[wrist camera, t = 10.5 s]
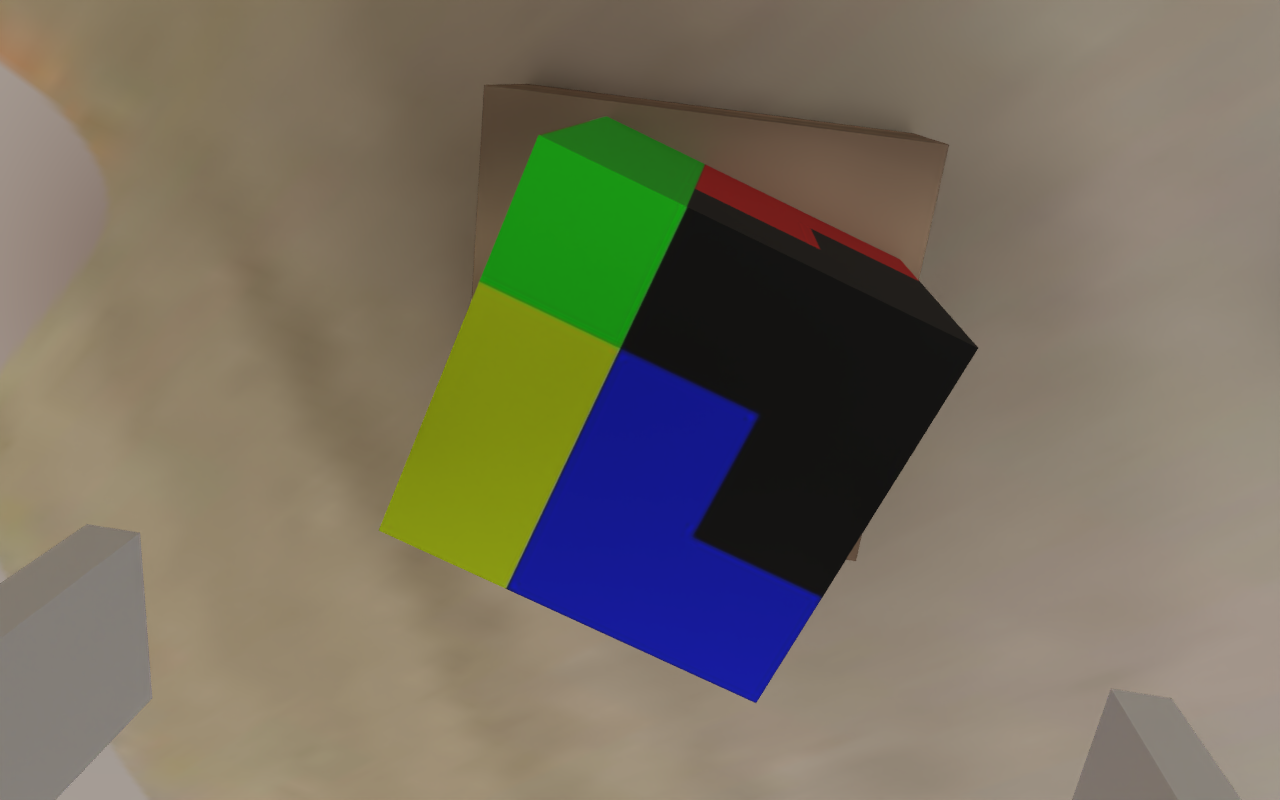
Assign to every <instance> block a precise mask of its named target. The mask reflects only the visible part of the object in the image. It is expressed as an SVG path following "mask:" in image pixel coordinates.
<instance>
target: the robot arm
mask: <svg viewBox="0 0 1280 800" xmlns="http://www.w3.org/2000/svg"><path fill="white" fill-rule="evenodd" d="M151 699H152V690H151V676H150V662H149V649H148V635H147V622H146V608H145V594H144V581H143V567H142V554H141V540H140V533H139V532H132V531H126V530H120V529H114V528H107V527H101V526H95V525H89V524H86V525H85V526H84V527H82V528H81V529H79V530H78V531H76V532H75V533H73V534H72V535H70V536H69V537H67V538H66V539H65V540H63V541H62V542H60V543H59V544H57V545H56V546H54V547H53V548H51V549H50V550H48V551H47V552H45V553H44V554H43V555H41V556H40V557H38V558H37V559H35V560H34V561H32V562H31V563H29V564H28V565H26V566H25V567H24V568H22V569H21V570H19V571H18V572H16V573H15V574H13V575H12V576H10V577H9V578H7V579H6V580H5V581H3V582H2V583H0V800H56V799H57V798H58V797H59V796H60V795H61V794H62V793H63V791H64V790H65V789H66V788H67V787H68V786H69V785H70V784H71V783H72V782H73V781H74V780H75V779H76V778H77V777H78V776H79V775H80V774H81V772H83V770H84V769H85V768H86V767H87V766H88V765H89V764H90V763H91V762H92V761H93V760H94V759H95V758H96V757H97V756H98V755H99V753H101V751H102V750H103V749H104V748H105V747H106V746H107V745H108V744H109V743H110V742H111V741H112V740H113V739H114V738H115V737H116V736H117V735H118V734H119V733H120V731H121V730H122V729H123V728H124V727H125V726H126V725H127V724H128V723H129V722H130V721H131V720H132V719H133V718H134V717H135V716H136V715H137V714H138V712H139V711H140V710H141V709H142V708H143V707H144V706H145V705H146V704H147V703H148V702H149V701H150V700H151ZM1072 800H1241V798H1240V797H1239V795H1238V794H1237V792H1236V791H1235V790H1234V788H1233V787H1232V785H1231V784H1230V782H1229V781H1228V779H1227V778H1226V776H1225V775H1224V774H1223V772H1222V771H1221V769H1220V768H1219V766H1218V765H1217V763H1216V762H1215V761H1214V759H1213V758H1212V756H1211V755H1210V753H1209V752H1208V750H1207V749H1206V748H1205V746H1204V745H1203V743H1202V742H1201V740H1200V739H1199V737H1198V736H1197V734H1196V733H1195V732H1194V730H1193V729H1192V727H1191V726H1190V724H1189V723H1188V721H1187V720H1186V719H1185V717H1184V716H1183V714H1182V713H1181V711H1180V710H1179V708H1178V707H1177V705H1176V704H1175V703H1174V701H1173V700H1172V698H1167V697H1161V696H1154V695H1148V694H1142V693H1136V692H1129V691H1123V690H1117V689H1111V690H1110V693H1109V696H1108V699H1107V702H1106V704H1105V707H1104V710H1103V713H1102V716H1101V719H1100V722H1099V724H1098V727H1097V730H1096V733H1095V736H1094V739H1093V742H1092V744H1091V747H1090V750H1089V753H1088V756H1087V759H1086V762H1085V765H1084V767H1083V770H1082V773H1081V776H1080V779H1079V782H1078V785H1077V787H1076V790H1075V793H1074V796H1073V799H1072Z"/></svg>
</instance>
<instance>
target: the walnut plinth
mask: <svg viewBox="0 0 1280 800" xmlns="http://www.w3.org/2000/svg"><path fill="white" fill-rule="evenodd" d="M605 116H607V117H609V118H611V119H613V120H615V121H618V122H620V123H622V124H624V125H626V126H628V127H630V128H632V129H634V130H636V131H638V132H640V133H642V134H644V135H646V136H648V137H650V138H652V139H654V140H656V141H659V142H661V143H663V144H665V145H667V146H669V147H671V148H673V149H675V150H677V151H679V152H681V153H683V154H685V155H687V156H689V157H691V158H693V159H695V160H697V161H700V162H702V163H704V164H706V165H708V166H710V167H712V168H714V169H716V170H718V171H720V172H722V173H724V174H726V175H728V176H730V177H732V178H734V179H736V180H738V181H740V182H743V183H745V184H747V185H749V186H751V187H753V188H755V189H757V190H759V191H761V192H763V193H765V194H767V195H769V196H771V197H773V198H775V199H777V200H779V201H781V202H784V203H786V204H788V205H790V206H792V207H794V208H796V209H798V210H800V211H802V212H804V213H806V214H808V215H810V216H812V217H814V218H816V219H818V220H820V221H822V222H825V223H827V224H829V225H831V226H833V227H835V228H837V229H839V230H841V231H843V232H845V233H847V234H849V235H851V236H853V237H855V238H857V239H859V240H861V241H863V242H866V243H868V244H870V245H872V246H874V247H876V248H878V249H880V250H882V251H884V252H886V253H888V254H890V255H892V256H894V257H896V258H898V259H900V260H901V261H902V262H903V263H904V264H905V265H906V267H907V268H908V269H909V270H910V271H911V272H912V273H913V274H914V276H915V277H916V278H917V279H918V280H919V276H920V272H921V267H922V263H923V259H924V254H925V250H926V245H927V241H928V236H929V232H930V227H931V223H932V218H933V214H934V209H935V205H936V200H937V196H938V192H939V187H940V183H941V178H942V174H943V169H944V165H945V160H946V156H947V151H948V147H949V145H948V144H945V143H942V142H939V141H935V140H932V139H929V138H926V137H923V136H920V135H917V134H913V133H906V132H898V131H890V130H882V129H874V128H867V127H859V126H851V125H843V124H835V123H828V122H820V121H812V120H804V119H796V118H789V117H781V116H773V115H765V114H757V113H750V112H742V111H734V110H726V109H718V108H711V107H703V106H695V105H687V104H679V103H672V102H664V101H656V100H648V99H640V98H632V97H625V96H617V95H609V94H601V93H593V92H586V91H578V90H570V89H562V88H554V87H547V86H539V85H531V84H508V85H484V98H483V115H482V132H481V149H480V166H479V183H478V201H477V218H476V235H475V252H474V269H473V286H472V298H473V296H474V293H475V291H476V288H477V286H478V283H479V281H480V279H481V276H482V274H483V271H484V269H485V266H486V264H487V261H488V259H489V256H490V254H491V251H492V249H493V246H494V244H495V241H496V239H497V236H498V234H499V231H500V229H501V227H502V224H503V222H504V219H505V217H506V214H507V212H508V209H509V207H510V204H511V202H512V199H513V197H514V194H515V192H516V189H517V187H518V184H519V182H520V180H521V177H522V175H523V172H524V170H525V167H526V165H527V162H528V160H529V157H530V155H531V152H532V150H533V147H534V145H535V142H536V140H537V137H538V135H540V134H543V133H547V132H551V131H554V130H558V129H561V128H565V127H569V126H572V125H576V124H580V123H583V122H587V121H590V120H594V119H598V118H601V117H605ZM861 536H862V535H861ZM861 536H860V538H859V539H858V541H857V543H856V544H855V546H854V547H853V549H852V551H851V552H850V554H849V555H848V557H847V559H846V560H852V561H856V558H857V554H858V549H859V545H860V540H861Z"/></svg>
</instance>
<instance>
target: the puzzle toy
mask: <svg viewBox="0 0 1280 800" xmlns="http://www.w3.org/2000/svg"><path fill="white" fill-rule="evenodd" d="M977 349H978V347H977V346H976V345H975V344H974V343H973V342H972V340H971V339H970V338H969V337H968V336H967V335H966V334H965V332H964V331H963V330H962V329H961V328H960V327H959V326H958V324H957V323H956V322H955V321H954V320H953V319H952V318H951V317H950V315H949V314H948V313H947V312H946V311H945V310H944V309H943V307H942V306H941V305H940V304H939V303H938V302H937V301H936V299H935V298H934V297H933V296H932V295H931V294H930V293H929V292H928V290H927V289H926V288H925V287H924V286H923V285H922V284H921V282H920V281H919V280H918V279H917V278H916V277H915V276H914V274H913V273H912V272H911V271H910V270H909V269H908V268H907V267H906V265H905V264H904V263H903V262H902V261H901V260H900V259H898V258H896V257H894V256H892V255H890V254H888V253H886V252H884V251H882V250H880V249H878V248H876V247H874V246H872V245H870V244H868V243H866V242H863V241H861V240H859V239H857V238H855V237H853V236H851V235H849V234H847V233H845V232H843V231H841V230H839V229H837V228H835V227H833V226H831V225H829V224H827V223H825V222H822V221H820V220H818V219H816V218H814V217H812V216H810V215H808V214H806V213H804V212H802V211H800V210H798V209H796V208H794V207H792V206H790V205H788V204H786V203H784V202H781V201H779V200H777V199H775V198H773V197H771V196H769V195H767V194H765V193H763V192H761V191H759V190H757V189H755V188H753V187H751V186H749V185H747V184H745V183H743V182H740V181H738V180H736V179H734V178H732V177H730V176H728V175H726V174H724V173H722V172H720V171H718V170H716V169H714V168H712V167H710V166H708V165H706V164H704V163H702V162H700V161H697V160H695V159H693V158H691V157H689V156H687V155H685V154H683V153H681V152H679V151H677V150H675V149H673V148H671V147H669V146H667V145H665V144H663V143H661V142H659V141H656V140H654V139H652V138H650V137H648V136H646V135H644V134H642V133H640V132H638V131H636V130H634V129H632V128H630V127H628V126H626V125H624V124H622V123H620V122H618V121H615V120H613V119H611V118H609V117H607V116H605V117H601V118H598V119H594V120H590V121H587V122H583V123H580V124H576V125H572V126H569V127H565V128H561V129H558V130H554V131H551V132H547V133H543V134H540V135H538V137H537V140H536V142H535V145H534V147H533V150H532V152H531V155H530V157H529V160H528V162H527V165H526V167H525V170H524V172H523V175H522V177H521V180H520V182H519V184H518V187H517V189H516V192H515V194H514V197H513V199H512V202H511V204H510V207H509V209H508V212H507V214H506V217H505V219H504V222H503V224H502V227H501V229H500V231H499V234H498V236H497V239H496V241H495V244H494V246H493V249H492V251H491V254H490V256H489V259H488V261H487V264H486V266H485V269H484V271H483V274H482V276H481V279H480V281H479V283H478V286H477V288H476V291H475V293H474V296H473V298H472V301H471V303H470V306H469V308H468V311H467V313H466V316H465V318H464V321H463V323H462V326H461V328H460V330H459V333H458V335H457V338H456V340H455V343H454V345H453V348H452V350H451V353H450V355H449V358H448V360H447V363H446V365H445V368H444V370H443V373H442V375H441V378H440V380H439V382H438V385H437V387H436V390H435V392H434V395H433V397H432V400H431V402H430V405H429V407H428V410H427V412H426V415H425V417H424V420H423V422H422V425H421V427H420V429H419V432H418V434H417V437H416V439H415V442H414V444H413V447H412V449H411V452H410V454H409V457H408V459H407V462H406V464H405V467H404V469H403V472H402V474H401V477H400V479H399V481H398V484H397V486H396V489H395V491H394V494H393V496H392V499H391V501H390V504H389V506H388V509H387V511H386V514H385V516H384V519H383V521H382V524H381V526H380V528H379V531H381V532H383V533H385V534H388V535H390V536H392V537H394V538H396V539H399V540H401V541H403V542H405V543H407V544H409V545H412V546H414V547H416V548H418V549H420V550H423V551H425V552H427V553H429V554H431V555H433V556H436V557H438V558H440V559H442V560H444V561H447V562H449V563H451V564H453V565H455V566H458V567H460V568H462V569H464V570H466V571H468V572H471V573H473V574H475V575H477V576H479V577H482V578H484V579H486V580H488V581H490V582H492V583H495V584H497V585H499V586H501V587H503V588H506V589H508V590H510V591H512V592H514V593H517V594H519V595H521V596H523V597H525V598H527V599H530V600H532V601H534V602H536V603H538V604H541V605H543V606H545V607H547V608H549V609H551V610H554V611H556V612H558V613H560V614H562V615H565V616H567V617H569V618H571V619H573V620H576V621H578V622H580V623H582V624H584V625H586V626H589V627H591V628H593V629H595V630H597V631H600V632H602V633H604V634H606V635H608V636H611V637H613V638H615V639H617V640H619V641H621V642H624V643H626V644H628V645H630V646H632V647H635V648H637V649H639V650H641V651H643V652H645V653H648V654H650V655H652V656H654V657H656V658H659V659H661V660H663V661H665V662H667V663H670V664H672V665H674V666H676V667H678V668H680V669H683V670H685V671H687V672H689V673H691V674H694V675H696V676H698V677H700V678H702V679H704V680H707V681H709V682H711V683H713V684H715V685H718V686H720V687H722V688H724V689H726V690H729V691H731V692H733V693H735V694H737V695H739V696H742V697H744V698H746V699H748V700H750V701H753V702H755V703H756V702H757V701H758V699H759V698H760V696H761V694H762V693H763V691H764V690H765V688H766V686H767V685H768V683H769V682H770V680H771V678H772V677H773V675H774V674H775V672H776V670H777V669H778V667H779V666H780V664H781V662H782V661H783V659H784V658H785V656H786V654H787V653H788V651H789V650H790V648H791V646H792V645H793V643H794V642H795V640H796V638H797V637H798V635H799V634H800V632H801V630H802V629H803V627H804V626H805V624H806V622H807V621H808V619H809V618H810V616H811V614H812V613H813V611H814V610H815V608H816V606H817V605H818V603H819V602H820V600H821V599H822V597H823V595H824V594H825V592H826V591H827V589H828V587H829V586H830V584H831V583H832V581H833V579H834V578H835V576H836V575H837V573H838V571H839V570H840V568H841V567H842V565H843V563H844V562H845V560H846V559H847V557H848V555H849V554H850V552H851V551H852V549H853V547H854V546H855V544H856V543H857V541H858V539H859V538H860V536H861V535H862V533H863V531H864V530H865V528H866V527H867V525H868V523H869V522H870V520H871V519H872V517H873V515H874V514H875V512H876V511H877V509H878V507H879V506H880V504H881V503H882V501H883V499H884V498H885V496H886V495H887V493H888V491H889V490H890V488H891V487H892V485H893V483H894V482H895V480H896V479H897V477H898V475H899V474H900V472H901V471H902V469H903V467H904V466H905V464H906V463H907V461H908V459H909V458H910V456H911V455H912V453H913V451H914V450H915V448H916V447H917V445H918V443H919V442H920V440H921V439H922V437H923V435H924V434H925V432H926V431H927V429H928V428H929V426H930V424H931V423H932V421H933V420H934V418H935V416H936V415H937V413H938V412H939V410H940V408H941V407H942V405H943V404H944V402H945V400H946V399H947V397H948V396H949V394H950V392H951V391H952V389H953V388H954V386H955V384H956V383H957V381H958V380H959V378H960V376H961V375H962V373H963V372H964V370H965V368H966V367H967V365H968V364H969V362H970V360H971V359H972V357H973V356H974V354H975V352H976V351H977Z"/></svg>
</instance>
